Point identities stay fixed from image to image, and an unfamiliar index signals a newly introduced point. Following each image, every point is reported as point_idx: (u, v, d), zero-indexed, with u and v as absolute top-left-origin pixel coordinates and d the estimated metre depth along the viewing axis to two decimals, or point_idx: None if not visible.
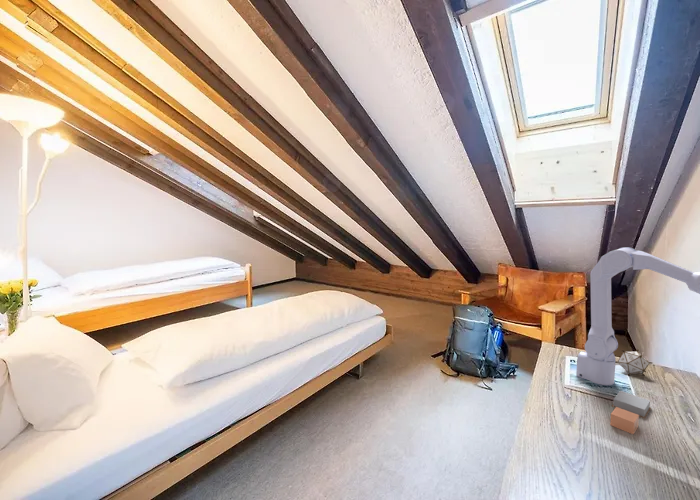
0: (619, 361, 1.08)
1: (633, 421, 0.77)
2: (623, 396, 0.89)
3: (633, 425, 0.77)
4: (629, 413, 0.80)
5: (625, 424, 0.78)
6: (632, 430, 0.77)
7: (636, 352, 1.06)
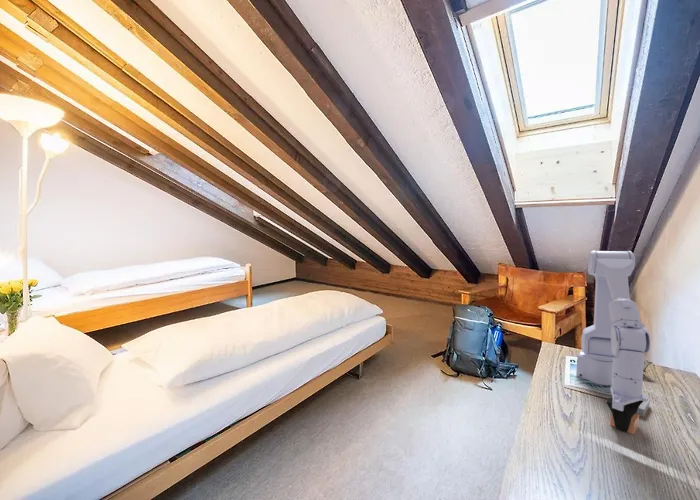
0: None
1: (633, 421, 0.77)
2: None
3: (633, 425, 0.77)
4: None
5: None
6: (632, 430, 0.77)
7: None
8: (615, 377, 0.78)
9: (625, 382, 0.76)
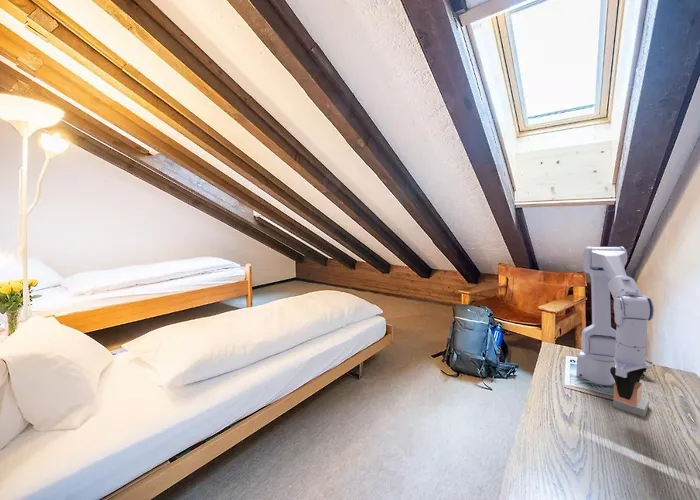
0: None
1: (636, 388, 0.78)
2: None
3: (636, 392, 0.78)
4: None
5: None
6: (635, 397, 0.78)
7: None
8: (618, 346, 0.80)
9: (628, 350, 0.78)
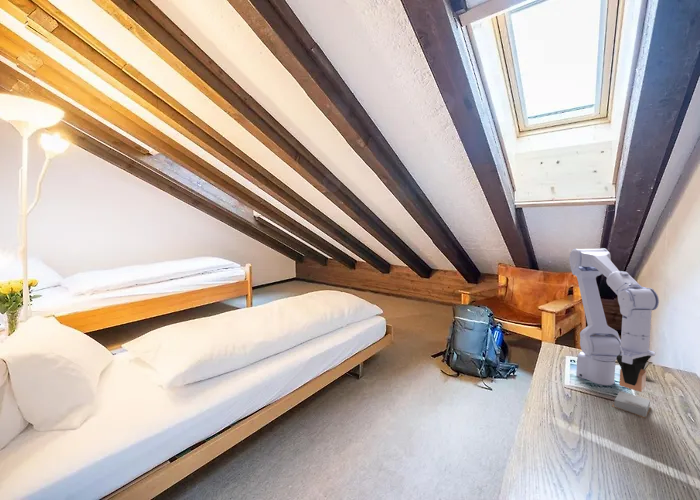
0: None
1: (641, 375, 0.83)
2: (623, 396, 0.88)
3: (641, 378, 0.83)
4: None
5: None
6: (640, 383, 0.83)
7: None
8: (624, 335, 0.85)
9: (634, 339, 0.83)
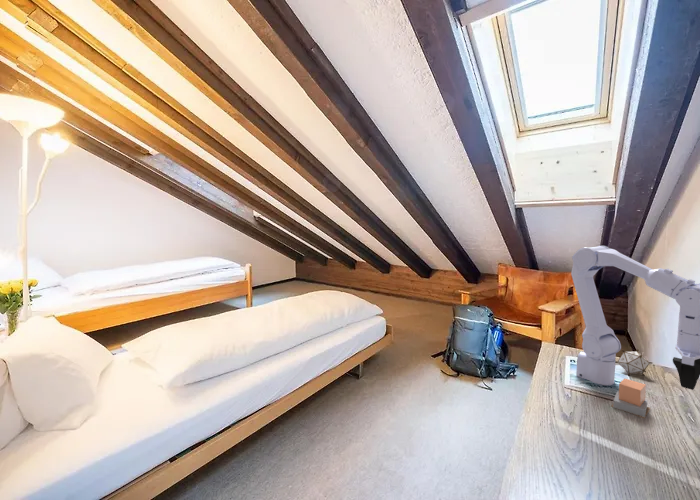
0: (619, 361, 1.08)
1: (640, 389, 0.84)
2: None
3: (640, 393, 0.84)
4: (636, 383, 0.87)
5: (633, 392, 0.85)
6: (639, 397, 0.84)
7: (636, 352, 1.06)
8: (682, 335, 0.80)
9: (693, 338, 0.78)
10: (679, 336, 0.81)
